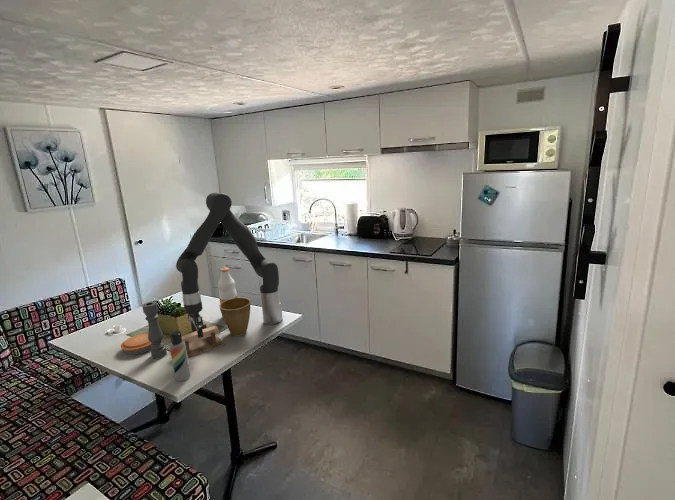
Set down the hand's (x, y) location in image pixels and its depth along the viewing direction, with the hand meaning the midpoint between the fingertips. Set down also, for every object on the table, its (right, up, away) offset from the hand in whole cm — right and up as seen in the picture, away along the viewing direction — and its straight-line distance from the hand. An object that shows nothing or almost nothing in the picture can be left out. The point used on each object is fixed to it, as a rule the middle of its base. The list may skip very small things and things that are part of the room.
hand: (197, 334), depth 165 cm
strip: (0, -2, +1) cm, 2 cm away
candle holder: (-16, -9, -2) cm, 19 cm away
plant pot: (+15, -3, +15) cm, 21 cm away
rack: (-1, -7, +4) cm, 8 cm away
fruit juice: (+5, +1, +35) cm, 35 cm away
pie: (-29, -8, +5) cm, 31 cm away
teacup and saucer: (-53, -4, +26) cm, 59 cm away
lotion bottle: (+2, -13, -21) cm, 24 cm away
